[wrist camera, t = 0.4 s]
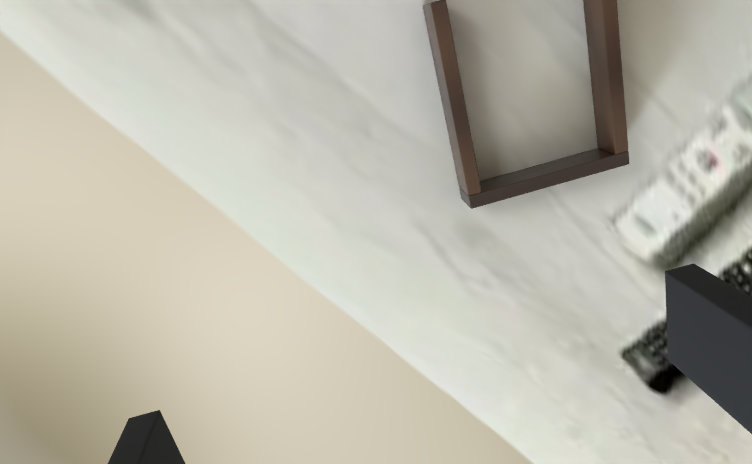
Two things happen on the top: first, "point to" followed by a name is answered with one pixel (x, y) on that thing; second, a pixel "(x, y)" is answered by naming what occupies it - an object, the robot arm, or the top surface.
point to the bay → (607, 156)
